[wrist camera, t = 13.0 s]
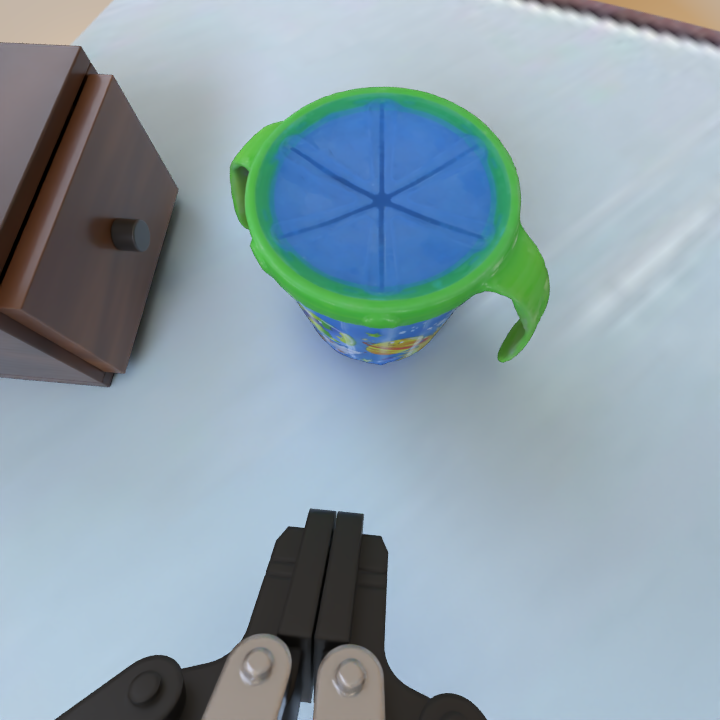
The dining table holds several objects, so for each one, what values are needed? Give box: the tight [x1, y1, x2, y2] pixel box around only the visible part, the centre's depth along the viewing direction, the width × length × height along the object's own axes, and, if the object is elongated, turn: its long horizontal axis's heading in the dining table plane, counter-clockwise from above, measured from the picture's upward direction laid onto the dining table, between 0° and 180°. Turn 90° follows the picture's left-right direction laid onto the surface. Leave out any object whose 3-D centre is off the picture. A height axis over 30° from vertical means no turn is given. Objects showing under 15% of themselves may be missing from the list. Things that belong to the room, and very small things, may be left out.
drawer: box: [0, 74, 178, 374], centre depth 23 cm, size 13×12×8 cm
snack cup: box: [230, 87, 550, 365], centre depth 22 cm, size 16×10×10 cm
